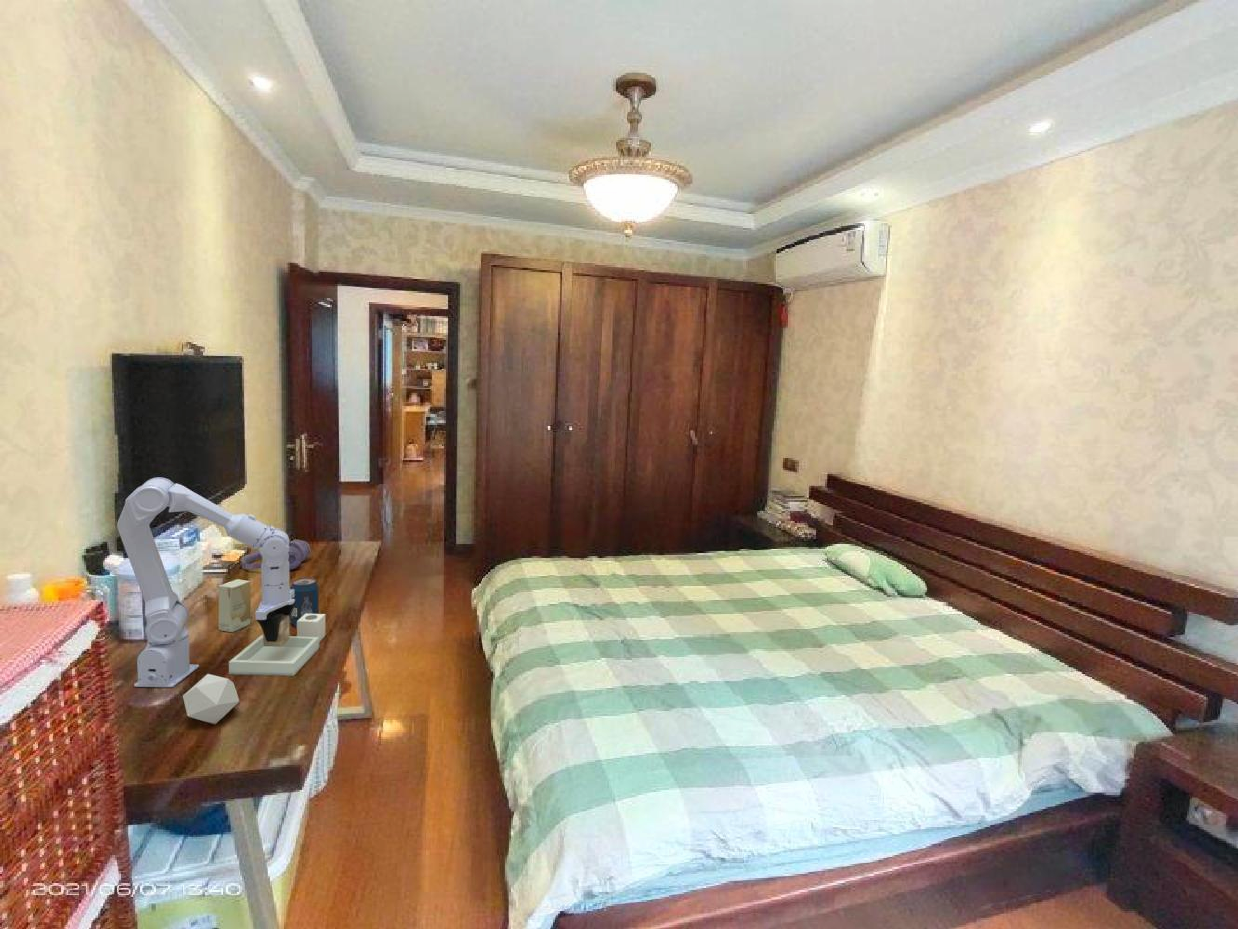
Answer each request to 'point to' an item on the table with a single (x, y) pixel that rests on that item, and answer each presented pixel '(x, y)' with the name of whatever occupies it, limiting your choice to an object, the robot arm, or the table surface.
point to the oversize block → (311, 626)
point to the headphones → (296, 554)
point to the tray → (274, 657)
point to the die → (210, 698)
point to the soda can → (304, 598)
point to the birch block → (280, 633)
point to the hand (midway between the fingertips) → (276, 636)
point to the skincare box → (234, 605)
